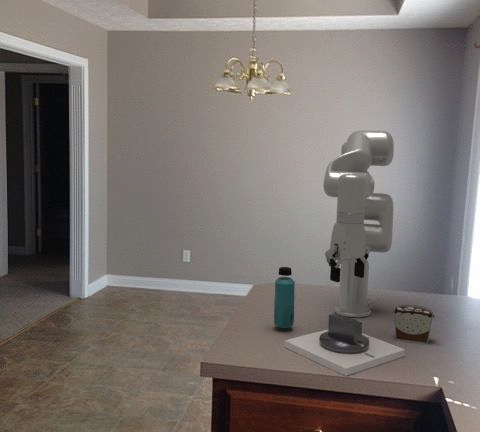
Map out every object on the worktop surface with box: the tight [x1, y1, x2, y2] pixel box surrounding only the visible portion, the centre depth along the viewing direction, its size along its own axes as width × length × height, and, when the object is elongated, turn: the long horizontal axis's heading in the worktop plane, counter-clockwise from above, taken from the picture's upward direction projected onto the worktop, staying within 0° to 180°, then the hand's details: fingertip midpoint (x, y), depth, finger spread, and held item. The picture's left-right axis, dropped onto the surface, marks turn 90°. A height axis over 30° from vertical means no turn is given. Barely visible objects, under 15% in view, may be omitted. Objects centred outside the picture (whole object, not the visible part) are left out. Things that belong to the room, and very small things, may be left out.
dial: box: [319, 312, 369, 354], centre depth 161 cm, size 14×14×8 cm
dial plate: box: [283, 329, 406, 377], centre depth 162 cm, size 24×24×2 cm
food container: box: [392, 303, 436, 345], centre depth 173 cm, size 12×6×10 cm, turn 71°
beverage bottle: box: [273, 266, 296, 329], centre depth 178 cm, size 6×7×20 cm
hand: (347, 279), depth 159 cm, fingers open, 9 cm apart
